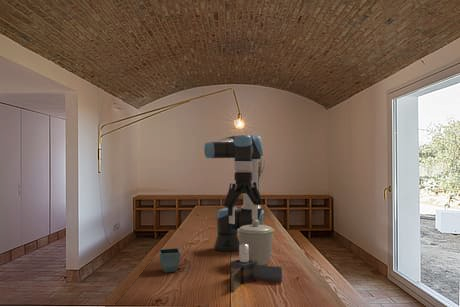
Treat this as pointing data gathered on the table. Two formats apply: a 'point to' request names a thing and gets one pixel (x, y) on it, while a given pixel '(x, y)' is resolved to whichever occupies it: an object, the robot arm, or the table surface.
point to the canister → (257, 241)
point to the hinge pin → (243, 253)
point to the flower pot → (169, 259)
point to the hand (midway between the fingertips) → (243, 221)
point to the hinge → (253, 273)
